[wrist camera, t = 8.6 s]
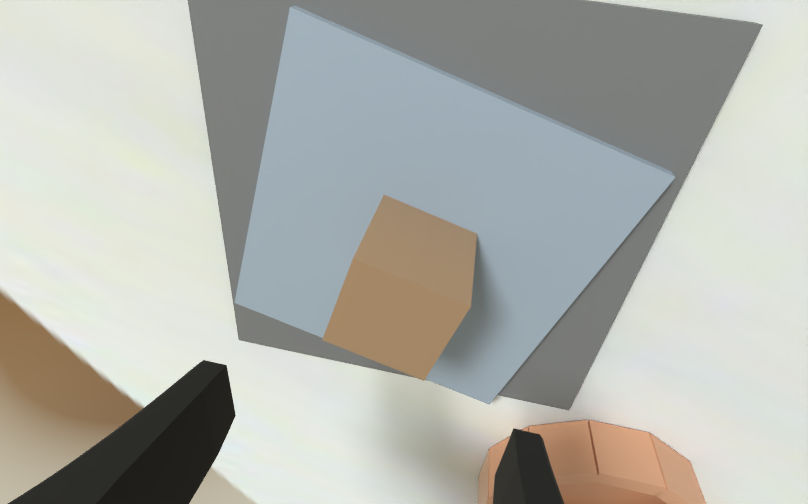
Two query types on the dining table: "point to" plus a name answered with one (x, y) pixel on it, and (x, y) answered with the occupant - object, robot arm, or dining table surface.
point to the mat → (505, 76)
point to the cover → (426, 211)
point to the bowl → (605, 466)
